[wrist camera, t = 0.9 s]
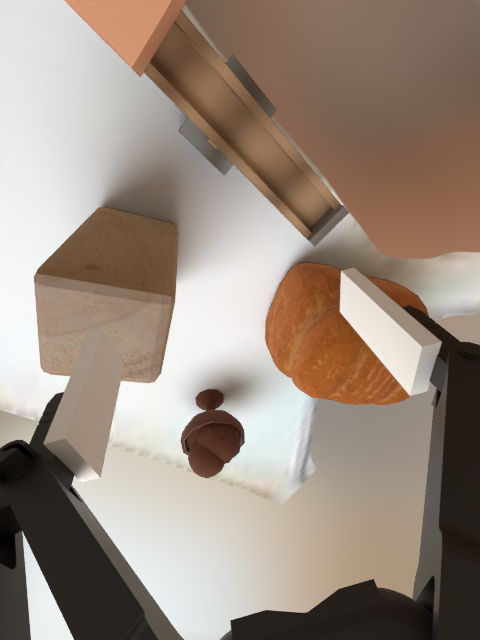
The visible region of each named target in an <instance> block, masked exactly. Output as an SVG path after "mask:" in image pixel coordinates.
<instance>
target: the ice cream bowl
mask: <svg viewBox="0 0 480 640" xmlns="http://www.w3.org/2000/svg"><path fill="white" fill-rule="evenodd" d="M222 403H223V394H222V393H220V392H219V391H218V390H210V389H208V390H205V391H203V392H200V393H199V394H198V396H197V397H196V404H197V406H198V407H200V408H201V409H202V410H206V411H205V412H202V413H200V414H197V415H196V416H194V417H193V419H192V420H191V421H190V422H189V424H188V425H187V426H186V427H185V429H184V431H183V433H182V437H181V444H182V448H183V453H185V454H187V455H188V460H189V464H190V466H191V468H192V470H193V471H194V473H196V474H197V475H199V476H201V477H205V478H209V477H212V476H214V475H216V474H218V473H219V472H220V471H221V470H222V468H223V467H224V464H225V463H229V462H230V460H231V459H232V458H233V457H235V456H236V455H237V454H238V453H239V452H240V447H241V446H242V445H243V444H244V443H245V441H244V429H243V427H242V425H241V423H240V422H239V421H238V420H237V419H236V418H235V417H233V416H232V415H230V414H229V413H227V412H225V411H223V410H215V409H216V408H219V406H220V405H221V404H222Z"/></svg>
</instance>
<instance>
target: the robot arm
mask: <svg viewBox="0 0 480 640" xmlns="http://www.w3.org/2000/svg"><path fill="white" fill-rule="evenodd" d="M340 313H341V314H342V315H343V316H344V317H345V319H346V320H347V321H348V322H349V323H350V325H351V326H352V327H353V328H354V329H355V331H356V332H357V333H358V334H359V335H360V337H361V338H362V339H363V340H364V341H365V343H366V344H367V345H368V346H369V347H370V349H371V350H372V351H373V352H374V353H375V355H376V356H377V357H378V358H379V359H380V361H381V362H382V363H383V364H384V365H385V367H386V368H387V369H388V370H389V371H390V373H391V374H392V375H393V376H394V377H395V378H396V380H397V381H398V382H399V383H400V384H401V386H402V387H403V388H404V389H405V390H406V392H407V393H408V394H409V395H410V396H411V395H415V394H419V393H422V392H426V391H427V390H428V387H429V383H430V382H431V383H432V384H433V385H434V386H435V387H436V388H437V389H436V393H435V395H434V399H433V402H432V406H434V411H433V421H432V432H431V442H430V452H429V463H428V474H427V485H426V494H425V506H424V515H423V526H422V536H421V547H420V557H419V564H418V569H417V573H416V577H415V583H414V591H413V599H411V598H409V597H407V596H405V595H404V594H401V593H398V592H396V591H393V590H389V589H385V588H377V586H376V584H375V581H374V580H373V579H372V580H369V581H365V582H362V583H359V584H355V585H352V586H348V587H344V588H341V589H338V590H337V591H336V592H335V593H333V594H332V595H330V596H329V597H328V598H326V599H325V600H324V601H322V602H321V603H320V604H318V605H317V606H316V607H314V608H313V609H312V610H310V611H309V612H307V613H295V612H294V613H293V612H283V611H282V612H281V611H270V610H265V611H262V612H258V613H255V614H251V615H248V616H244V617H241V618H238V619H234V620H231V631H229V632H228V633H226V634H225V635H224V636H223V637H222V638H221V639H220V640H480V345H477V344H474V343H470V342H460V341H459V340H457V339H456V338H455V337H454V336H452V335H451V334H450V333H449V332H447V331H446V330H445V329H444V328H442V327H441V326H440V325H438V324H437V323H435V321H434V320H432V319H431V318H429V316H427V315H426V314H425V313H424V312H422V311H421V310H419V309H417V308H414V307H412V306H410V305H408V306H404V307H400V306H399V305H398V304H397V303H395V302H394V301H393V300H392V299H391V298H390V297H388V296H387V295H386V294H385V293H384V292H383V291H381V290H380V289H379V288H378V287H377V286H376V285H374V284H373V283H372V282H371V281H370V280H368V279H367V278H366V277H365V276H364V275H363V274H361V273H360V272H359V271H358V270H357V269H356V268H350V269H346V270H342V271H341V285H340ZM123 367H124V364H123V362H122V361H121V359H120V357H119V355H118V353H117V352H116V350H115V348H114V346H113V344H112V343H111V341H110V339H109V337H108V335H107V334H106V332H105V330H104V328H101V329H97V330H93V331H89V333H88V335H87V337H86V340H85V342H84V345H83V347H82V350H81V352H80V355H79V357H78V360H77V362H76V365H75V367H74V369H73V372H72V374H71V377H70V379H69V382H68V384H67V387H66V389H65V392H62V393H58V394H55V396H54V397H53V398H52V399H51V400H50V401H49V403H48V404H47V406H46V408H45V410H44V412H43V416H42V417H41V419H40V421H39V425H38V426H37V428H36V431H35V433H34V435H33V437H32V440H31V442H30V444H27V443H26V442H25V441H23V440H15V441H12V442H10V443H8V444H6V445H4V446H3V447H1V448H0V640H31V636H30V624H29V611H28V599H27V586H26V573H25V562H24V549H23V536H22V531H23V533H24V535H25V537H26V539H27V541H28V543H29V545H30V548H31V550H32V552H33V554H34V556H35V558H36V560H37V562H38V565H39V567H40V569H41V571H42V573H43V575H44V577H45V579H46V581H47V583H48V586H49V588H50V590H51V592H52V594H53V596H54V598H55V600H56V602H57V605H58V607H59V609H60V611H61V613H62V615H63V617H64V619H65V621H66V623H67V625H68V628H69V630H70V632H71V634H72V636H73V638H74V640H184V639H183V638H182V637H181V636H180V635H179V633H177V631H176V630H175V628H174V627H173V626H172V624H171V623H170V621H169V620H168V619H167V617H166V616H165V614H164V613H163V611H162V610H161V609H160V607H159V606H158V604H157V603H156V602H155V600H154V599H153V597H152V596H151V595H150V593H149V592H148V590H147V589H146V588H145V586H144V585H143V584H142V582H141V581H140V579H139V578H138V576H137V575H136V574H135V572H134V571H133V570H132V568H131V567H130V565H129V564H128V562H127V561H126V560H125V558H124V557H123V555H122V554H121V553H120V551H119V550H118V548H117V547H116V546H115V544H114V543H113V542H112V540H111V539H110V537H109V536H108V534H107V533H106V532H105V530H104V529H103V527H102V526H101V525H100V523H99V522H98V520H97V519H96V518H95V516H94V515H93V513H92V512H91V511H90V509H89V508H88V506H87V505H86V504H85V502H84V501H83V499H82V498H81V497H80V495H79V494H78V492H77V491H76V490H75V488H73V486H71V484H72V481H73V477H74V476H76V478H77V479H78V480H79V481H80V482H85V481H89V480H92V479H96V478H100V476H101V472H102V467H103V462H104V457H105V452H106V448H107V443H108V438H109V434H110V429H111V424H112V419H113V415H114V410H115V405H116V400H117V396H118V391H119V386H120V381H121V377H122V372H123Z"/></svg>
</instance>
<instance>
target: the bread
mask: <svg viewBox="0 0 480 640" xmlns="http://www.w3.org/2000/svg"><path fill="white" fill-rule="evenodd" d="M365 277H366V278H367V279H368V280H370V281H371V282H372V283H373V284H374V285H376V286H377V287H378V288H379V289H380V290H381V291H383V292H384V293H385V294H386V295H387V296H388V297H390V298H391V299H392V300H393V301H394V302H395V303H397V304H398V305H399V306H400V307H404V306H408V305H410V306H412V307H414V308H417V309H419V310H421V311H422V312H424V313H425V314H426V315H427V316H429V315H428V312H427V308H426V307H425V305H424V304H423V302H422V301H421V299H420V298H419V296H418V295H416V294H415V293H413V292H412V291H410V290H409V289H407V288H405V287H403V286H401V285H399V284H396V283H393V282H390V281H387V280H381V279H377V278H373V277H367V276H365ZM340 285H341V271H340V270H339V269H337V268H335V267H332V266H329V265H324V264H317V263H301V264H299V265H296V266H294V267H293V268H291V269H290V270H289V271H288V273H287V275H286V276H285V278H284V279H283V281H282V282H281V284H280V285H279V288H278V290H277V292H276V295H275V297H274V300H273V302H272V305H271V307H270V309H269V312H268V316H267V319H266V333H265V340H266V345H267V347H268V349H269V352H270V354H271V357H272V359H273V361H274V363H275V365H276V366H277V368H278V369H279V370H280V371H281V372H282V373H284V374H285V375H286V376H287V377H290V378H292V380H293V383H294V384H295V386H296V387H297V388H298V389H300V390H301V391H302V392H304V393H306V394H307V395H309V396H311V397H313V398H319V399H329V400H334V401H338V402H341V403H345V404H353V405H357V404H377V405H386V404H392V403H397V402H400V401H403V400H405V399H407V398H409V397H410V395H409V394H408V393H407V392H406V390H405V389H404V388H403V387H402V386H401V384H400V383H399V382H398V381H397V380H396V378H395V377H394V376H393V375H392V374H391V373H390V371H389V370H388V369H387V368H386V367H385V365H384V364H383V363H382V362H381V361H380V359H379V358H378V357H377V356H376V355H375V353H374V352H373V351H372V350H371V349H370V347H369V346H368V345H367V344H366V343H365V341H364V340H363V339H362V338H361V337H360V335H359V334H358V333H357V332H356V331H355V329H354V328H353V327H352V326H351V325H350V323H349V322H348V321H347V320H346V319H345V317H344V316H343V315H342V314H341V313H340Z"/></svg>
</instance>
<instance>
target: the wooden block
mask: <svg viewBox="0 0 480 640" xmlns="http://www.w3.org/2000/svg"><path fill="white" fill-rule="evenodd" d="M177 251H178V229H177V226H175V225H174V224H173V223H169V222H165V221H161V220H157V219H153V218H148V217H144V216H140V215H136V214H132V213H127V212H123V211H119V210H115V209H111V208H106V207H102V208H98V209H97V210H96V211H95V212H94V213H93V214H92V215H91V216H90V217H89V218H88V219H87V220H86V221H85V222H84V223H83V224H82V225H81V226H80V227H79V228H78V229H77V230H76V231H75V232H74V233H73V234H72V235H71V236H70V237H69V238H68V239H67V240H66V241H65V242H64V243H63V244H62V245H61V246H60V247H59V248H58V249H57V250H56V251H55V252H54V253H53V254H52V255H51V256H50V257H49V258H48V259H47V260H46V261H45V262H44V263H43V264H42V265H41V266H40V267H39V268H38V270H37V272H36V274H35V276H34V283H35V296H36V310H37V323H38V337H39V351H40V363H41V368H42V370H43V371H44V372H46V373H48V374H51V375H63V376H71V374H72V372H73V369H74V367H75V365H76V362H77V360H78V357H79V355H80V352H81V350H82V347H83V345H84V342H85V340H86V337H87V335H88V333H89V331H93V330H97V329H101V328H104V330H105V332H106V334H107V335H108V337H109V339H110V341H111V343H112V344H113V346H114V348H115V350H116V352H117V353H118V355H119V357H120V359H121V361H122V362H123V364H124V367H123V372H122V377H121V381H131V382H142V383H151V382H155V381H156V379H157V378H158V376H159V375H160V374H161V370H162V365H163V360H164V355H165V349H166V344H167V339H168V334H169V329H170V324H171V319H172V314H173V309H174V304H175V293H176V272H177Z"/></svg>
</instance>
